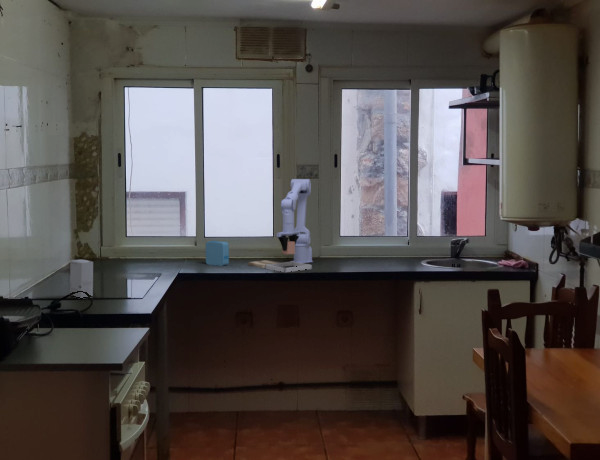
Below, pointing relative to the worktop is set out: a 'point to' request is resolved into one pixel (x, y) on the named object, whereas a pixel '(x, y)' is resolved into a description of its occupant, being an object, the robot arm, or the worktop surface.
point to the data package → (217, 253)
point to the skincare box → (81, 277)
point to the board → (261, 263)
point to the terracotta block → (290, 248)
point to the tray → (279, 267)
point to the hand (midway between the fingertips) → (288, 250)
